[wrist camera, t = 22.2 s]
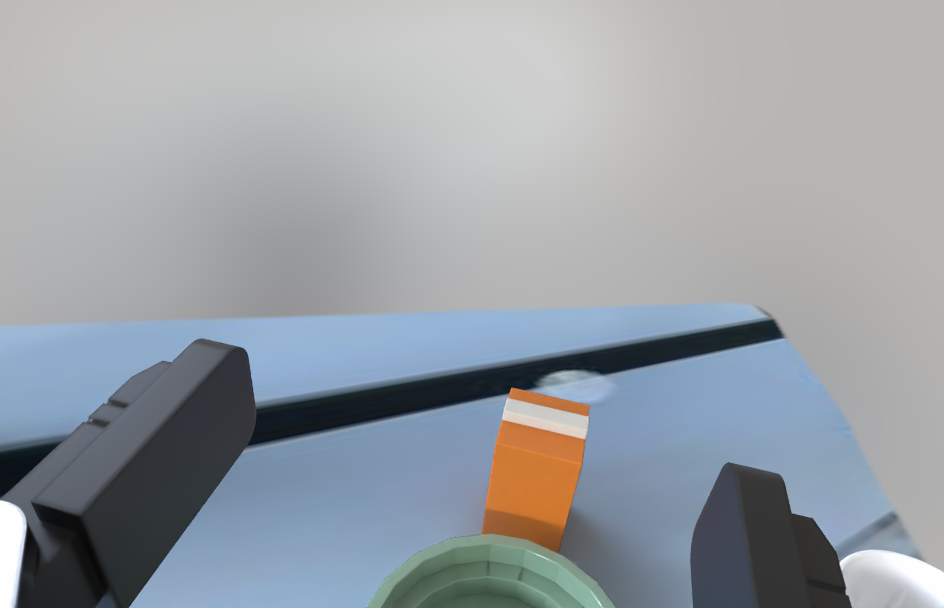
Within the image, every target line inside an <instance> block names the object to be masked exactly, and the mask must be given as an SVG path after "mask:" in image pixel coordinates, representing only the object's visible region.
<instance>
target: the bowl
mask: <svg viewBox="0 0 944 608" xmlns="http://www.w3.org/2000/svg"><path fill="white" fill-rule="evenodd" d="M366 608H616V607H615V606H614V604H613V603H612V602H611V600H610V599H609V597H608V596H607V595H606V593H605V592H604V591H603V589H602V588H601V587H600V585H599V584H598V583H597V582H596V581H595V580H593V579H592V578H591V577H590V576H589V575H587V574H586V573H585V572H584V571H582V570H581V569H580V568H579V567H578V566H576V565H575V564H574V563H573V562H571V561H570V560H569V559H568V558H567V557H564V556H562V555H560V554H558V553H556V552H554V551H552V550H549V549H547V548H545V547H543V546H541V545H539V544H536V543H534V542H532V541H529V540H527V539H521V538H515V537H509V536H503V535H497V534H482V535H473V536H464V537H455V538H453V539H452V538H451V539H448V540H446V541H443V542H441V543H439V544H436V545H434V546H431V547H429V548H427V549H424V550H422V551H419V552H417V553H416V554H414V555H413V556H412V557H411V558H409V559H408V560H407V561H406V562H405V563H403V564H402V565H401V566H400V567H399V568H397V569H396V570H395V571H394V572H393V573H391V574H390V575H389V576H388V577H387V578H385V579H384V581H383V582H382V584H381V585H380V587H379V588H378V590H377V591H376V593H375V595H374V596H373V598H372V599H371V601H370V602H369V604H368V605H367V607H366Z"/></svg>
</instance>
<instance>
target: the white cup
mask: <svg viewBox="0 0 944 608" xmlns="http://www.w3.org/2000/svg"><path fill="white" fill-rule="evenodd" d="M840 567H841V570H842V574H843V578H844V581H845V585H846V588H847V589H846V595H848V596H849V599H850V602H851V606H852V608H944V572H943V571H941V570H939V569H938V568H936V567H934V566H932V565H930V564H928V563H926V562H923V561H921V560H919V559H916V558H913V557H911V556H908V555H904V554H901V553H897V552H892V551H886V550H864V551H859V552H856V553H853V554H851V555H849V556H847V557H846V558H844V559H843V560H842V561H841V562H840Z"/></svg>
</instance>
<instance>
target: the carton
mask: <svg viewBox="0 0 944 608" xmlns="http://www.w3.org/2000/svg"><path fill="white" fill-rule="evenodd" d="M589 407H590V406H589V405H585V404H581V403H577V402H572V401H568V400H564V399H559V398H555V397H550V396H546V395H542V394H537V393H533V392H529V391H524V390H520V389H515V388H511V391H510V394H509V398H508V399H507V401H506V404H505V408H504V411H503V418H502V422H501V426H500V429H499V433H498V436H497V440H496V443H495V450H494V456H493V463H492V469H491V475H490V482H489V488H488V495H487V501H486V507H485V514H484V520H483V527H482V533H481V535H482V534H497V535H503V536H509V537H515V538H521V539H527V540H529V541H532V542H534V543H536V544H539V545H541V546H543V547H545V548H547V549H549V550H552V551H554V552H556V553H558V551H559V548H560V544H561V540H562V537H563V533H564V530H565V526H566V522H567V519H568V515H569V511H570V508H571V504H572V500H573V497H574V493H575V490H576V486H577V482H578V479H579V475H580V471H581V468H582V464H583V456H584V448H585V440H586V436H587V433H588V427H589V419H590V418H589V417H588V416H589Z"/></svg>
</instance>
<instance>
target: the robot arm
mask: <svg viewBox="0 0 944 608" xmlns="http://www.w3.org/2000/svg"><path fill="white" fill-rule="evenodd" d="M255 422H256V407H255V400H254V393H253V386H252V379H251V372H250V365H249V358H248V354H247V352H246V351H245V349H243V348H241V347H237V346H233V345H228V344H224V343H220V342H215V341H211V340H207V339H197V340H195V341H194V342H192V343H191V344H190V345H189V346H188V347H187V348H186V349H185V350H184V351H183V352H182V353H181V354H180V355H179V356H178V357H177V358H176V359H175V360H174V361H173V362H172V363H171V362H167V361H161V362H159V363H157V364H156V365H154V366H152V367H150V368H148V369H146V370H144V371H142V372H140V373H138V374H137V375H135V376H133V377H131V378H130V379H129V380H128V381H127V382H126V383H125V384H124V385H123V386H122V387H120V388H119V389H118V390H117V391H116V392H115V393H114V394H113V395H112V396H111V397H110V398H109V399H108V402H107V404H104V403H103V404H102V405H101V406H100V407H99V408H98V409H97V410H96V411H95V412H94V413H93V414H92V415H90V416H89V419H88V421H87V422H86V423H85V422H83V423H82V424H81V425H80V426H79V427H78V428H76V429H75V430H74V431H73V432H72V433H71V434H70V435H69V436H68V437H67V438H66V439H65V440H64V441H63V442H61V443H60V444H59V445H58V446H57V447H56V448H55V449H54V450H53V451H52V452H51V453H50V454H49V455H48V456H46V457H45V458H44V459H43V460H42V461H41V462H40V463H39V464H38V465H37V466H36V467H35V468H34V469H33V470H31V471H30V472H29V473H28V474H27V475H26V476H25V477H24V478H23V479H22V480H21V481H20V482H19V483H18V484H16V485H15V486H14V487H13V488H12V489H11V490H10V491H9V492H8V493H6V494H5V495H4V496H3V497H2V498H0V608H129V606H130V605H131V604H132V602H133V601H134V600H135V598H136V597H137V595H138V594H139V593H140V591H141V590H142V589H143V587H144V586H145V585H146V583H147V582H148V580H149V579H150V578H151V576H152V575H153V574H154V572H155V571H156V569H157V568H158V567H159V565H160V564H161V563H162V561H163V560H164V559H165V557H166V556H167V554H168V553H169V552H170V550H171V549H172V548H173V546H174V545H175V543H176V542H177V541H178V539H179V538H180V537H181V535H182V534H183V532H184V531H185V530H186V528H187V527H188V526H189V524H190V523H191V522H192V520H193V519H194V517H195V516H196V515H197V513H198V512H199V511H200V509H201V508H202V506H203V505H204V504H205V502H206V501H207V500H208V498H209V497H210V496H211V494H212V493H213V491H214V490H215V489H216V487H217V486H218V485H219V483H220V482H221V480H222V479H223V478H224V476H225V475H226V474H227V472H228V471H229V469H230V468H231V467H232V465H233V464H234V463H235V461H236V460H237V459H238V457H239V456H240V454H241V453H242V452H243V450H244V449H245V447H246V446H247V444H248V442H249V441H250V438H251V436H252V433H253V430H254V427H255ZM690 562H691V580H692V596H693V608H852V606H851V602H850V599H849V596H848V595H846V589H847V588H846V585H845V581H844V578H843V574H842V570H841V567H840V563H839V560H838V556H837V553H836V551H835V550H834V548H833V547H832V545H831V544H830V543H829V541H828V540H827V538H826V537H825V535H824V534H823V532H822V531H821V530H820V528H819V527H818V525H817V524H816V522H815V521H814V519H813V518H809V517H805V516H801V515H796V514H792V513H791V509H790V504H789V500H788V496H787V491H786V487H785V483H784V480H783V478H782V477H781V475H779V474H777V473H772V472H768V471H764V470H759V469H755V468H751V467H747V466H742V465H738V464H734V463H729V462H728V463H726V464H725V465H724V466H723V468H722V470H721V472H720V474H719V476H718V478H717V480H716V482H715V485H714V487H713V489H712V491H711V493H710V495H709V497H708V500H707V502H706V504H705V506H704V508H703V510H702V512H701V515H700V517H699V519H698V521H697V524H696V526H695V530H694V534H693V538H692V545H691V559H690Z"/></svg>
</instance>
